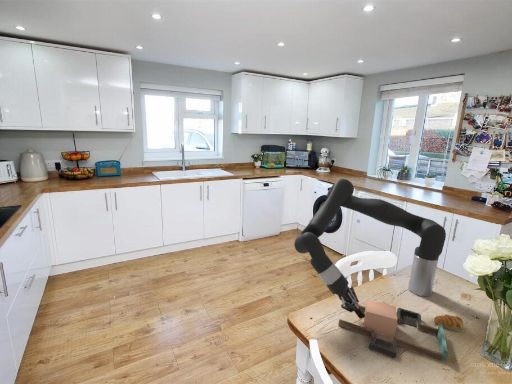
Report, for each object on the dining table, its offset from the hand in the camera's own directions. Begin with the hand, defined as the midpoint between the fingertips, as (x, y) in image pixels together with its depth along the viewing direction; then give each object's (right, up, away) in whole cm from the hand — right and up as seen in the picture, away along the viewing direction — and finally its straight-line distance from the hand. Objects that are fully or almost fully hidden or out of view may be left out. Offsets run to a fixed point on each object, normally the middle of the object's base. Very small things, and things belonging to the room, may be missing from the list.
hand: (362, 317), depth 102 cm
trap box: (+8, -4, -2) cm, 9 cm away
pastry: (+33, -4, +2) cm, 34 cm away
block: (+5, -3, -1) cm, 6 cm away
